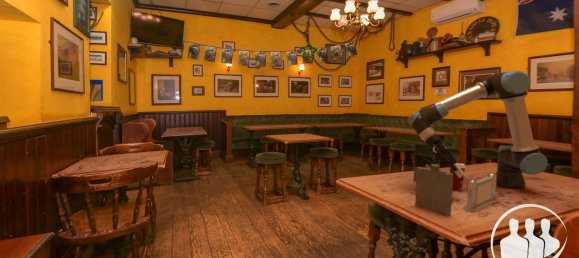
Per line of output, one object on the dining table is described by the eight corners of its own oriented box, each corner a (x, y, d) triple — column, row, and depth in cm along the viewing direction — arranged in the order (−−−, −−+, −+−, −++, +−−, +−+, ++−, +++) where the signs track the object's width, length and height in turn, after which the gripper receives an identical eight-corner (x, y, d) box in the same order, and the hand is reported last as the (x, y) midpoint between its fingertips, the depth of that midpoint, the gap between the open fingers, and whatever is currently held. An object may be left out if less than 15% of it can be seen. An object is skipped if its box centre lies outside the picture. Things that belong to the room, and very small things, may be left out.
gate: (486, 197, 142) (487, 176, 141) (491, 198, 140) (492, 177, 139) (470, 204, 131) (471, 181, 130) (475, 206, 129) (477, 183, 128)
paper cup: (466, 191, 156) (468, 165, 154) (450, 190, 157) (452, 165, 156) (461, 187, 163) (462, 162, 162) (446, 186, 165) (447, 162, 164)
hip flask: (413, 205, 135) (415, 162, 133) (419, 203, 137) (421, 161, 135) (448, 216, 121) (450, 168, 120) (453, 214, 123) (456, 167, 122)
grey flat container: (426, 179, 182) (427, 164, 181) (430, 180, 179) (431, 165, 178) (413, 181, 177) (413, 165, 176) (417, 182, 174) (417, 166, 174)
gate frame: (486, 198, 145) (487, 172, 144) (497, 200, 141) (499, 174, 140) (463, 208, 130) (464, 180, 129) (475, 212, 126) (477, 182, 125)
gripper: (431, 141, 159) (462, 178, 147) (418, 143, 151) (449, 182, 140) (442, 132, 154) (474, 170, 143) (429, 134, 147) (462, 173, 135)
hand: (462, 176), depth 141 cm, fingers closed
